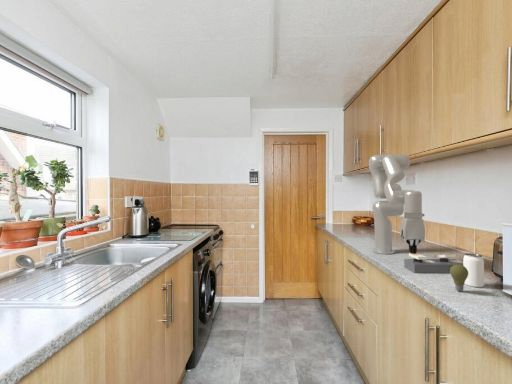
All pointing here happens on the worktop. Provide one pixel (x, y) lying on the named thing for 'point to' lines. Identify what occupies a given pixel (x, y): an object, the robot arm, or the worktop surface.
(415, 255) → the rocker
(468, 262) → the can
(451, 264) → the switch panel
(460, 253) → the worktop surface
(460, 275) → the light bulb
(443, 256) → the rocker
